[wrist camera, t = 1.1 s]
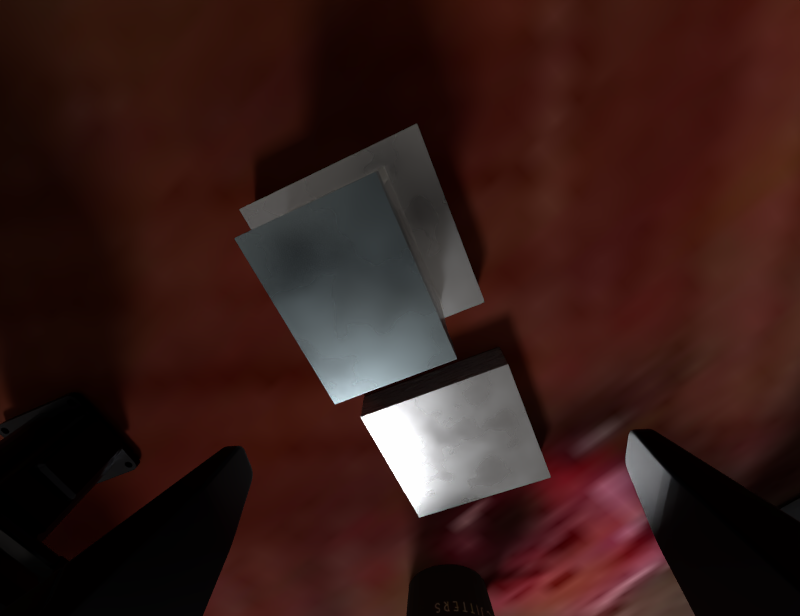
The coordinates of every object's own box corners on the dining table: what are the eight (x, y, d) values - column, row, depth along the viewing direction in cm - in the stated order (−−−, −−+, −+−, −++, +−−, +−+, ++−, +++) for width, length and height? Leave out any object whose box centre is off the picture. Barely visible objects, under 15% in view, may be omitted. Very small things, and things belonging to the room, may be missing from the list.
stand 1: (335, 345, 22) (329, 363, 21) (254, 204, 19) (239, 209, 18) (477, 288, 21) (484, 301, 19) (415, 126, 18) (417, 123, 16)
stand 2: (418, 492, 27) (419, 517, 25) (364, 396, 24) (360, 417, 22) (540, 454, 26) (550, 477, 24) (499, 346, 22) (507, 364, 21)
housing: (353, 334, 20) (335, 404, 14) (287, 211, 18) (234, 238, 12) (440, 299, 19) (457, 359, 14) (384, 166, 17) (375, 171, 11)
